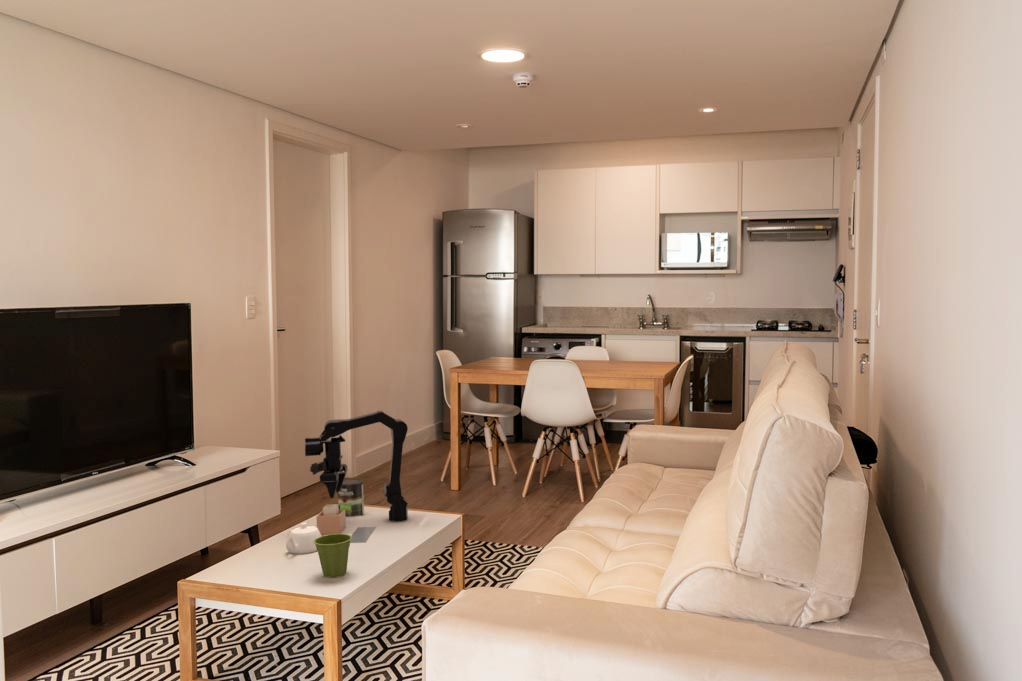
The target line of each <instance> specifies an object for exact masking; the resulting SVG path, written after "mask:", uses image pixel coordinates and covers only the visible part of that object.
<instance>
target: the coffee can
mask: <svg viewBox="0 0 1022 681" xmlns="http://www.w3.org/2000/svg"><path fill="white" fill-rule="evenodd" d="M364 499H365V498H364V479H361V478H346V479H345V478H344V481H343V483H342V486H341V489H340V492H337V501H338V502H337V503H338V509H339V510H345V518H346V517H347V518H348V517H349V518H350V517H356V516H357V517H358V516H359V517H361V516H363V517H364V516H365V501H364Z"/></svg>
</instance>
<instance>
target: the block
mask: <svg viewBox="0 0 1022 681" xmlns="http://www.w3.org/2000/svg"><path fill="white" fill-rule="evenodd" d="M322 510H323V516H333V515H339V508H338V504H325V505H324V506H323V508H322Z"/></svg>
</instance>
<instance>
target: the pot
mask: <svg viewBox="0 0 1022 681" xmlns="http://www.w3.org/2000/svg"><path fill="white" fill-rule="evenodd" d="M346 521H347V520H346V517H345V510H339V515H333V516H323V509H322V510H321V511H320V512H319V513H318V514H317V515H316V526H317V527H318V530H319V531H320V534H321V536H325V535H330V534H343V532H344V531H345V529H346V528H347V525H346V523H347V522H346Z"/></svg>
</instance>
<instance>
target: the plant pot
mask: <svg viewBox="0 0 1022 681" xmlns="http://www.w3.org/2000/svg"><path fill="white" fill-rule="evenodd" d="M351 539H352V534H348V533H341V534H330V535H321V537H318V538H316V539H315V540H314V541H313V542H314V544H315V545H316V548H317V551H316V552H317V553H318V558H319V562H320V566H321V570H322V575H323V577H326V578H328V577H329V578H338V577H343V576H344V575H345V574H347V571H348V561H349V553H350V552H349V551H350V545H351V543H350V540H351Z"/></svg>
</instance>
